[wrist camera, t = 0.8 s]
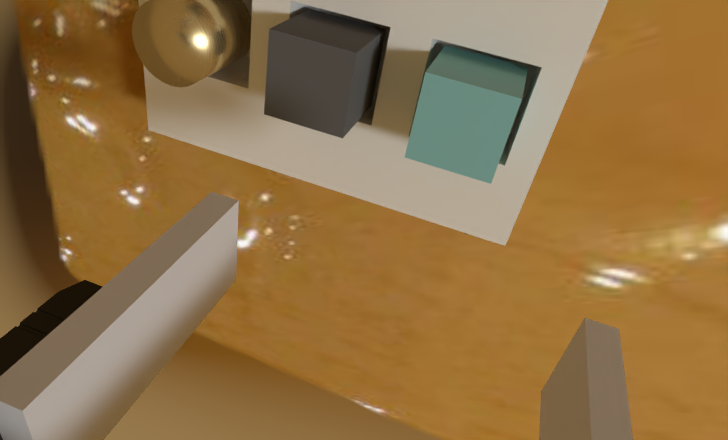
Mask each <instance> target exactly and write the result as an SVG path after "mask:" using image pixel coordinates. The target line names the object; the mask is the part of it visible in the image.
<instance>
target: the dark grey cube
mask: <svg viewBox="0 0 728 440" xmlns="http://www.w3.org/2000/svg"><path fill="white" fill-rule="evenodd" d="M385 31H386V29H383V28H380V27H376V26H372V25H368V24H365V23H361V22H357V21H353V20H350V19H346V18H342V17H339V16H335V15H331V14H327V13H324V12H320V11H316V10H312V9H309V10H307V11H305V12H303V13H301V14H298V15H296V16H294V17H292V18H290V19H288V20H286V21H284V22H282V23H280V24H278V25H276V26H274V27H272V28H270V29H269V40H268V57H267V73H266V89H265V105H264V114H265V115H268V116H271V117H274V118H278V119H281V120H284V121H287V122H291V123H294V124H297V125H300V126H304V127H307V128H310V129H313V130H317V131H320V132H323V133H327V134H330V135H333V136H336V137H340V138H344V136H345V135H346V134H347V133H348V132H349V131H350V130H351V128H352V127H353V126H354V125H355V124H356V123H357V121H358V120H359V119H360V118H361V117H362V116H363V115H364V113H365V112H366V111H367V110H368V109H369V108H370V107H371V105H372V100H373V95H374V89H375V84H376V79H377V73H378V68H379V63H380V58H381V52H382V47H383V42H384V37H385Z"/></svg>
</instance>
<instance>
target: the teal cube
mask: <svg viewBox="0 0 728 440" xmlns="http://www.w3.org/2000/svg"><path fill="white" fill-rule="evenodd" d="M527 71H528V67H526V66H522V65H518V64H514V63H511V62H507V61H503V60H499V59H496V58H492V57H488V56H484V55H481V54H477V53H473V52H469V51H466V50H462V49H458V48H455V47H451V46H447V45H445V46H444V48H443V49H442V50H441V52H440V53H439V54H438V56H437V57H436V58H435V60H434V61H433V62H432V64H431V65H430V67H429V68H428V69H427V71H426V72H425V76H424V80H423V84H422V88H421V92H420V96H419V100H418V104H417V109H416V113H415V117H414V121H413V125H412V129H411V133H410V137H409V141H408V145H407V149H406V154H405V158H408V159H411V160H415V161H418V162H421V163H424V164H428V165H431V166H434V167H437V168H441V169H444V170H447V171H450V172H454V173H457V174H460V175H463V176H467V177H470V178H473V179H476V180H480V181H483V182H486V183H490V184H491V183H492V180H493V177H494V175H495V172H496V169H497V166H498V164H499V161H500V158H501V155H502V153H503V150H504V147H505V145H506V142H507V139H508V136H509V134H510V131H511V128H512V125H513V123H514V120H515V117H516V115H517V112H518V109H519V106H520V104H521V101H522V97H523V92H524V87H525V82H526V76H527Z"/></svg>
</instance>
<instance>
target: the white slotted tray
mask: <svg viewBox="0 0 728 440" xmlns="http://www.w3.org/2000/svg"><path fill="white" fill-rule="evenodd" d="M147 1H149V0H138V3H139V7H140V6H141V5H142V4H143V3H145V2H147ZM242 1H243V2H244V3H245V5H246V7H247V8H248V10H249V12H250V15H251V41H250V49H249V51H248V52H247V54H246V55H245V56H244V57H243V58H241V59H239V60H238V61H236V62H234V63H232V64H230V65H228V66H226V67H225V68H223V69H221V70H219V71H217V72H215V73H213V74H211V75H210V76H208V77H206V78H204V79H202V80H200V81H198V82H197V83H195V84H193V85H190V86H187V87H174V86H170V85H168V84H165V83H163V82H161V81H160V80H158V79H157V78H156V77H154V76H153V75H152V74H151V73H150V72H149V71H148V70H147V68H146V67H145V66H144V65H143V66H144V79H145V92H146V104H147V117H148V130H150V131H153V132H156V133H159V134H162V135H165V136H168V137H171V138H174V139H177V140H180V141H184V142H187V143H190V144H193V145H196V146H199V147H202V148H205V149H208V150H211V151H214V152H217V153H221V154H224V155H227V156H230V157H233V158H236V159H239V160H242V161H245V162H248V163H251V164H254V165H257V166H261V167H264V168H267V169H270V170H273V171H276V172H279V173H282V174H285V175H288V176H291V177H294V178H298V179H301V180H304V181H307V182H310V183H313V184H316V185H319V186H322V187H325V188H328V189H331V190H335V191H338V192H341V193H344V194H347V195H350V196H353V197H356V198H359V199H362V200H365V201H368V202H371V203H375V204H378V205H381V206H384V207H387V208H390V209H393V210H396V211H399V212H402V213H405V214H408V215H412V216H415V217H418V218H421V219H424V220H427V221H430V222H433V223H436V224H439V225H442V226H445V227H449V228H452V229H455V230H458V231H461V232H464V233H467V234H470V235H473V236H476V237H479V238H482V239H485V240H489V241H492V242H495V243H498V244H501V245H504V246H505V245H506V243H507V241H508V238H509V236H510V233H511V231H512V229H513V226H514V224H515V221H516V219H517V217H518V214H519V212H520V210H521V207H522V205H523V202H524V200H525V198H526V195H527V193H528V191H529V188H530V186H531V183H532V181H533V179H534V176H535V174H536V171H537V169H538V167H539V164H540V162H541V160H542V157H543V155H544V152H545V150H546V148H547V145H548V143H549V140H550V138H551V136H552V133H553V131H554V129H555V126H556V124H557V121H558V119H559V117H560V114H561V112H562V109H563V107H564V105H565V102H566V100H567V98H568V95H569V93H570V90H571V88H572V86H573V83H574V81H575V78H576V76H577V74H578V71H579V69H580V67H581V64H582V62H583V59H584V57H585V55H586V52H587V50H588V48H589V45H590V43H591V40H592V38H593V36H594V33H595V31H596V28H597V26H598V24H599V21H600V19H601V17H602V14H603V12H604V9H605V7H606V5H607V2H608V0H242ZM309 9H312V10H316V11H320V12H324V13H327V14H331V15H335V16H339V17H342V18H346V19H350V20H353V21H357V22H361V23H365V24H368V25H372V26H376V27H380V28H383V29H386V31H385V37H384V42H383V47H382V52H381V58H380V63H379V68H378V73H377V79H376V84H375V89H374V95H373V100H372V105H371V107H370V108H369V109H368V110H367V111H366V112H365V113H364V115H363V116H362V117H361V118H360V119H359V120H358V121H357V123H356V124H355V125H354V126H353V127H352V128H351V130H350V131H349V132H348V133H347V134H346V135H345V136H344V138H340V137H336V136H333V135H330V134H327V133H323V132H320V131H317V130H313V129H310V128H307V127H304V126H300V125H297V124H294V123H291V122H287V121H284V120H281V119H278V118H274V117H271V116H268V115H265V114H264V105H265V89H266V73H267V57H268V40H269V29H270V28H272V27H274V26H276V25H278V24H280V23H282V22H284V21H286V20H288V19H290V18H292V17H294V16H296V15H298V14H301V13H303V12H305V11H307V10H309ZM445 45H447V46H451V47H455V48H458V49H462V50H466V51H469V52H473V53H477V54H481V55H484V56H488V57H492V58H496V59H499V60H503V61H507V62H511V63H514V64H518V65H522V66H526V67H528V71H527V76H526V82H525V87H524V92H523V97H522V101H521V104H520V106H519V109H518V112H517V115H516V117H515V120H514V123H513V125H512V128H511V131H510V134H509V136H508V139H507V142H506V145H505V147H504V150H503V153H502V155H501V158H500V161H499V164H498V166H497V169H496V172H495V175H494V177H493V180H492V183H491V184H490V183H486V182H483V181H480V180H476V179H473V178H470V177H467V176H463V175H460V174H457V173H454V172H450V171H447V170H444V169H441V168H437V167H434V166H431V165H428V164H424V163H421V162H418V161H415V160H411V159H408V158H405V154H406V149H407V145H408V141H409V137H410V133H411V129H412V125H413V121H414V117H415V113H416V109H417V104H418V100H419V96H420V92H421V88H422V84H423V80H424V76H425V72H426V71H427V69H428V68H429V67H430V65H431V64H432V62H433V61H434V60H435V58H436V57H437V56H438V54H439V53H440V52H441V50H442V49H443V48H444V46H445Z"/></svg>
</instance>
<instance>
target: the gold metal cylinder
mask: <svg viewBox="0 0 728 440" xmlns="http://www.w3.org/2000/svg"><path fill="white" fill-rule="evenodd" d="M132 39H133V43H134V47H135V50H136V52H137V54H138V57H139V58H140V60H141V62H142V63H143V65H144V66H145V67H146V68H147V70H148V71H149V72H150V73H151V74H152V75H153V76H154V77H156V78H157V79H158V80H160V81H161V82H163V83H165V84H168V85H170V86H174V87H187V86H190V85H193V84H195V83H197V82H198V81H200V80H202V79H204V78H206V77H208V76H210V75H211V74H213V73H215V72H217V71H219V70H221V69H223V68H225V67H226V66H228V65H230V64H232V63H234V62H236V61H238V60H239V59H241V58H243V57H244V56H245V55H246V54H247V52H248V51H249V49H250V41H251V15H250V12H249V10H248V8H247V7H246V5H245V3H244V2H243V1H242V0H149V1H147V2H145V3H143V4H142V5H141V6H140V7H139V8H138V9H137V11H136V13H135V15H134V17H133V21H132Z"/></svg>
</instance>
